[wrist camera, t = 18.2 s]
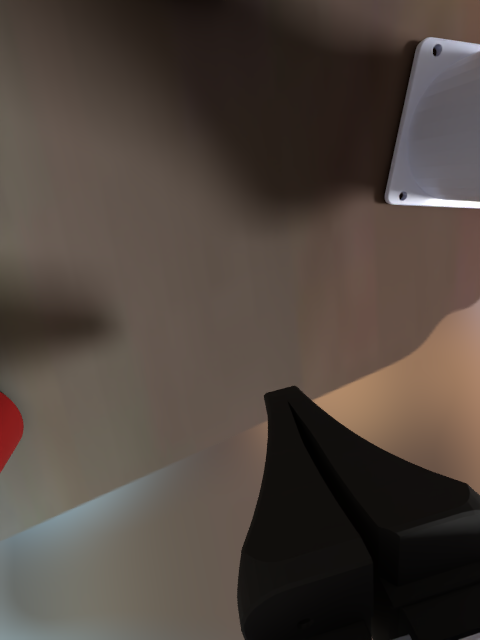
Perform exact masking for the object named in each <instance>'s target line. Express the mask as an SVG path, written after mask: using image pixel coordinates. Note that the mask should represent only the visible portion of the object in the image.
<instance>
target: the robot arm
mask: <svg viewBox="0 0 480 640" xmlns="http://www.w3.org/2000/svg"><path fill="white" fill-rule="evenodd" d="M434 47H435V48H436V56H434V55H433V48H434ZM401 192H402V193H403V197H402V199H401V200H400V199H399V195H400V193H401ZM385 201H386V202H387V203H388V204H392V205H413V206H435V207H457V208H479V209H480V44H474V43H467V42H461V41H454V40H447V39H441V38H434V37H427V38H426V39H424V40H422V41H421V42H420V43H419V44H418V46H417V48H416V51H415V56H414V60H413V65H412V70H411V74H410V79H409V84H408V88H407V93H406V98H405V102H404V107H403V112H402V116H401V121H400V126H399V131H398V135H397V140H396V145H395V149H394V154H393V159H392V163H391V168H390V173H389V177H388V182H387V187H386V191H385ZM264 400H265V405H266V410H267V415H268V443H267V454H266V462H265V469H264V475H263V480H262V484H261V489H260V493H259V497H258V501H257V505H256V508H255V512H254V516H253V519H252V522H251V525H250V528H249V531H248V533H247V536H246V539H245V542H244V545H243V547H242V551H241V560H240V567H239V576H238V589H237V590H238V591H237V599H238V600H237V601H238V611H239V618H240V624H241V631H242V633H243V636H244V638H245V640H372V638H373V640H480V495H479V494H477V493H476V492H475V491H474V490H473V489H472V488H471V487H470V486H469V485H468V484H466V483H463V482H460V481H458V480H454V479H452V478H449V477H446V476H443V475H440V474H437V473H434V472H432V471H429V470H427V469H424V468H422V467H420V466H417V465H415V464H412V463H410V462H408V461H405V460H403V459H401V458H399V457H397V456H395V455H393V454H391V453H389V452H387V451H385V450H383V449H381V448H379V447H377V446H375V445H374V444H372V443H370V442H368V441H367V440H365V439H363V438H361V437H360V436H358V435H357V434H355V433H354V432H352V431H351V430H349V429H348V428H346V427H345V426H344V425H342V424H341V423H339V422H338V421H336V420H335V419H334V418H332V417H331V416H330V415H328V414H327V413H326V412H325V411H324V410H322V409H321V408H320V407H318V406H317V405H316V404H315V403H314V402H313V401H312V400H311V399H309V398H308V397H307V396H306V395H305V394H304V393H303V392H302V391H301V390H300V389H299V388H298V387H296V386H291V387H288V388H284V389H280V390H276V391H272V392H269V393H266V394H265V395H264Z"/></svg>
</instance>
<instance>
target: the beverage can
mask: <svg viewBox="0 0 480 640" xmlns="http://www.w3.org/2000/svg"><path fill="white" fill-rule="evenodd" d="M22 434H23V419H22V416H21V414H20V412H19V410H18V408H17V407H16V405H15V404H14V403H13V402H12V401H11V400H10V399H9V398H8V397H7V396H6V395H4V394H3V393H1V392H0V472H1V471H2V469H3V468H4V466H5V464H6V463H7V461H8V459H9V458H10V456H11V454H12V453H13V451H14V449H15V448H16V446H17V445H18V443H19V441H20V439H21V437H22Z"/></svg>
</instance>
